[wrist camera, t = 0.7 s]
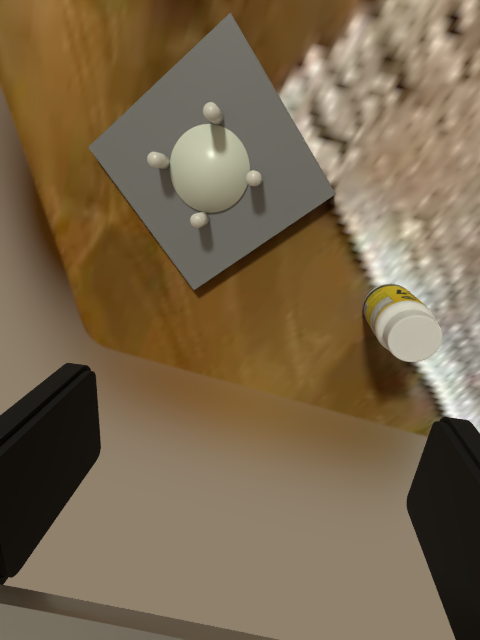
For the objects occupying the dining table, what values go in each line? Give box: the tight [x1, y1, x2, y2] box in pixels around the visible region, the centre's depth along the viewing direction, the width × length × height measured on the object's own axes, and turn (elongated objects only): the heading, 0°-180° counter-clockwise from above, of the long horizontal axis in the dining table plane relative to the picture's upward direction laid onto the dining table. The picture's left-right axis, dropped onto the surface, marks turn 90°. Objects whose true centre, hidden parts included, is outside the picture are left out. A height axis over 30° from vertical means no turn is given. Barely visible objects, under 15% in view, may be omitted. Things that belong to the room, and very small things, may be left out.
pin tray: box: [89, 13, 335, 290], centre depth 31 cm, size 16×16×4 cm
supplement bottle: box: [363, 284, 442, 362], centre depth 31 cm, size 5×5×8 cm
